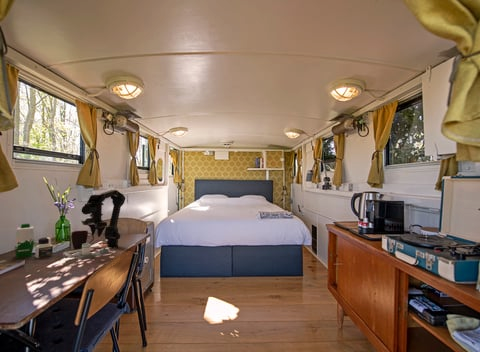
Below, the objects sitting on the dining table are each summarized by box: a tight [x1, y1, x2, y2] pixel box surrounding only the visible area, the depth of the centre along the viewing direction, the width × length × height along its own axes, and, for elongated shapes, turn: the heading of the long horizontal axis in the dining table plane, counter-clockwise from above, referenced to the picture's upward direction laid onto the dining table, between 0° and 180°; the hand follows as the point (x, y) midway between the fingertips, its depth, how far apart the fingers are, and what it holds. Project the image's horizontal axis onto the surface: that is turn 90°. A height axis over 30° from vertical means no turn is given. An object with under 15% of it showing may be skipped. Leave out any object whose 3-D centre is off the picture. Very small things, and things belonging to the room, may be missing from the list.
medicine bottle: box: [34, 236, 54, 259], centre depth 150 cm, size 7×7×12 cm
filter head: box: [75, 248, 112, 261], centre depth 153 cm, size 18×10×3 cm, turn 145°
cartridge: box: [81, 242, 92, 256], centre depth 149 cm, size 5×5×8 cm
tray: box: [62, 249, 82, 259], centre depth 153 cm, size 10×10×2 cm
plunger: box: [100, 244, 108, 250], centre depth 158 cm, size 4×4×3 cm
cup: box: [70, 230, 95, 250], centre depth 171 cm, size 10×14×12 cm
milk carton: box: [14, 223, 35, 259], centre depth 151 cm, size 9×9×20 cm
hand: (96, 235), depth 157 cm, fingers open, 9 cm apart
